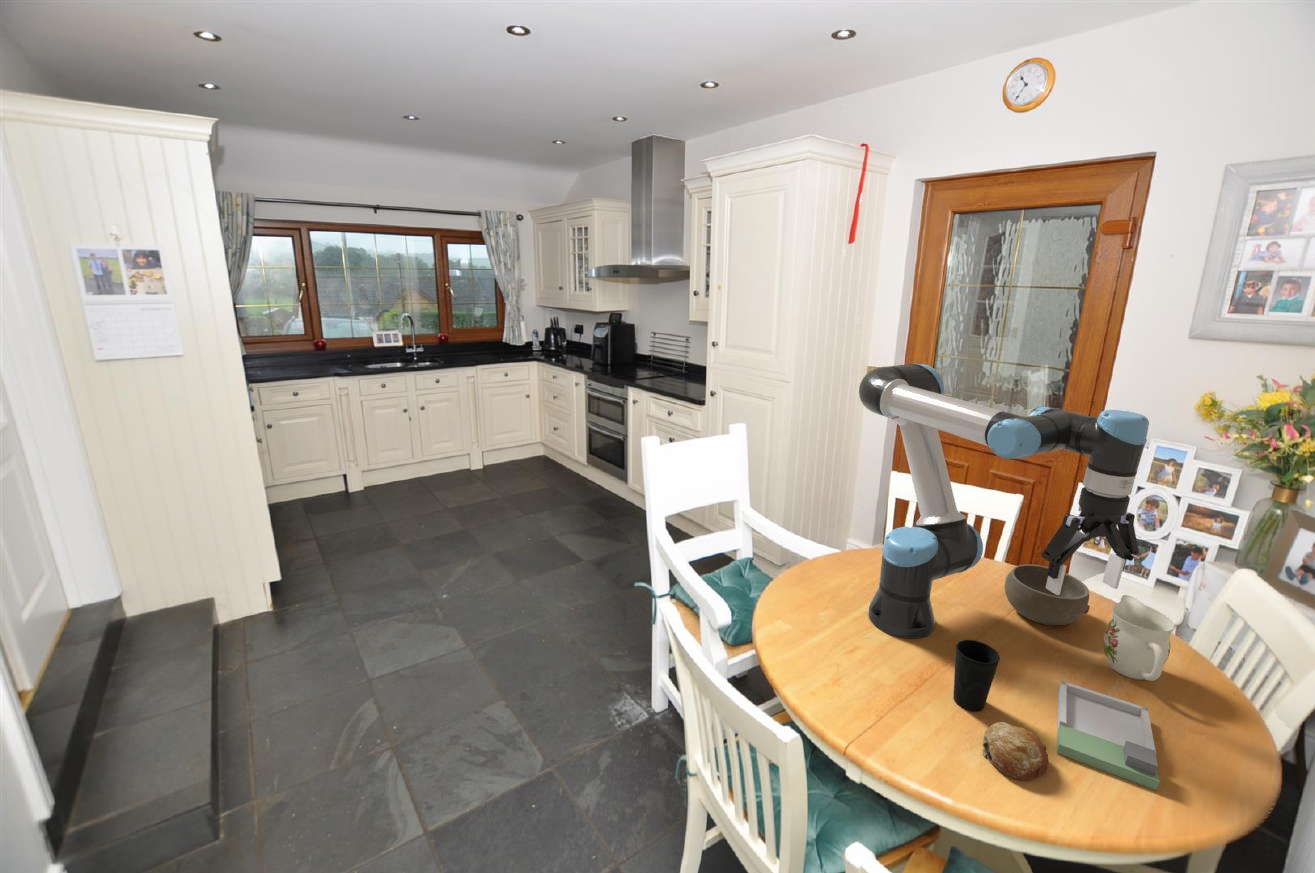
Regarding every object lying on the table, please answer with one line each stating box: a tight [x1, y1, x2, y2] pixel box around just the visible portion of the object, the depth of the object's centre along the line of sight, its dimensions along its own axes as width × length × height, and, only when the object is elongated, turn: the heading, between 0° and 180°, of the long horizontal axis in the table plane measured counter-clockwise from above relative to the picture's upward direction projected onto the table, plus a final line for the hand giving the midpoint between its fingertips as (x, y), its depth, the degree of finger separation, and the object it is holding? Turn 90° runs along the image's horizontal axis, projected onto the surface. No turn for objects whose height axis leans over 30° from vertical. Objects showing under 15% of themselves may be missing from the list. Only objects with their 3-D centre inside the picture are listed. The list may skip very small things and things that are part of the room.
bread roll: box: [981, 721, 1049, 782], centre depth 103 cm, size 10×10×8 cm
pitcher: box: [1103, 594, 1176, 682], centre depth 124 cm, size 11×18×14 cm, turn 163°
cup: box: [953, 639, 1001, 713], centre depth 116 cm, size 8×8×12 cm
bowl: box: [1004, 564, 1091, 626], centre depth 146 cm, size 17×18×10 cm
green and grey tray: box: [1056, 680, 1161, 792], centre depth 108 cm, size 14×20×4 cm
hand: (1081, 588), depth 117 cm, fingers open, 13 cm apart
